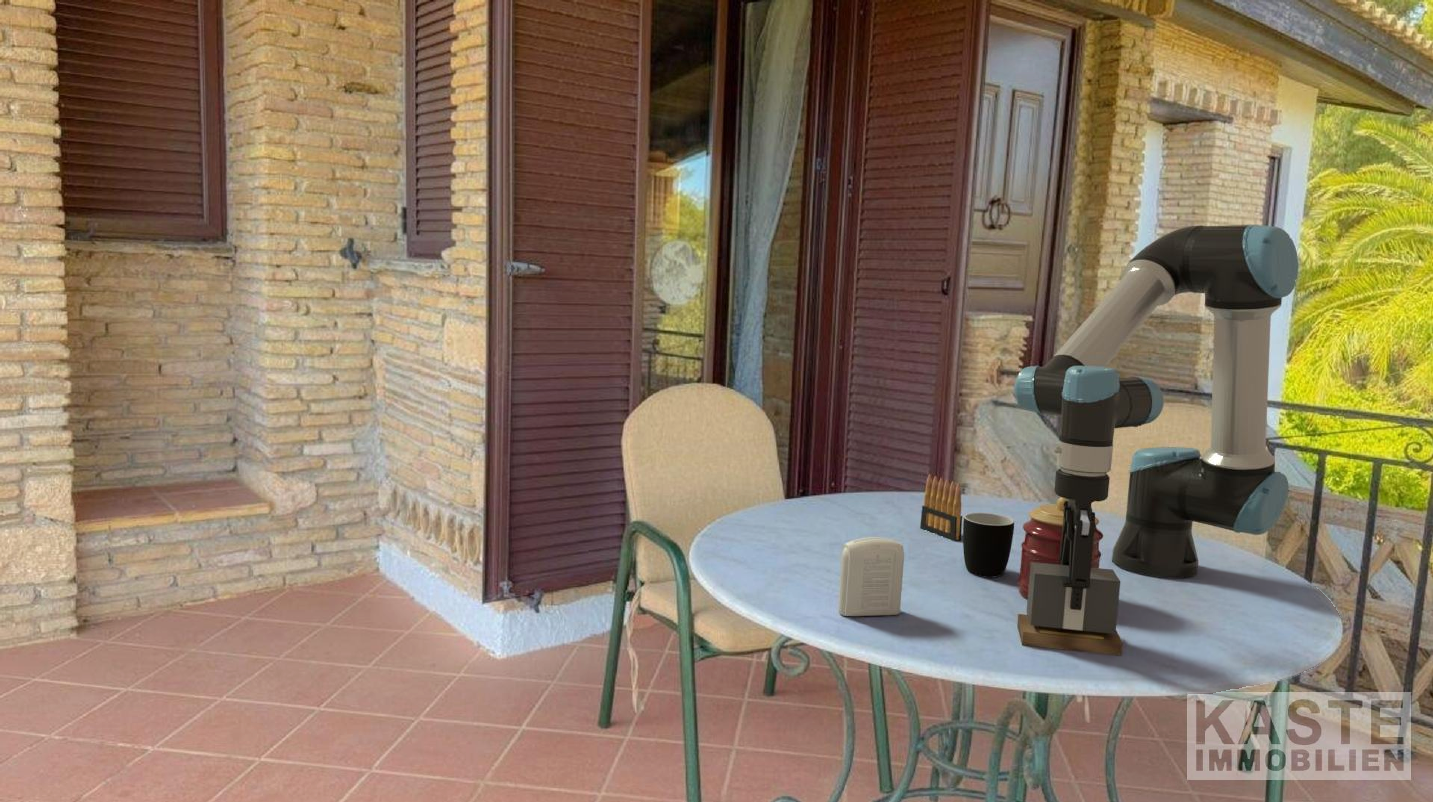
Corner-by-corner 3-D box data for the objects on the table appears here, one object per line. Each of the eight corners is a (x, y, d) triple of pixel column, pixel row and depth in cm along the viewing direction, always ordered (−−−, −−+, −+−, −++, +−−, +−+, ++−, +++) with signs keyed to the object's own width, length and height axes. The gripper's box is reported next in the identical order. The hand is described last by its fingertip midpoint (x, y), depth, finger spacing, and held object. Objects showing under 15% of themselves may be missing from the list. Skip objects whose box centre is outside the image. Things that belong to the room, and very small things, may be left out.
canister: (1008, 583, 178) (1016, 486, 176) (1082, 586, 178) (1091, 489, 175) (1029, 608, 165) (1037, 504, 163) (1108, 612, 165) (1118, 507, 162)
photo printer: (893, 607, 163) (898, 533, 162) (904, 616, 159) (909, 541, 157) (833, 609, 161) (838, 535, 159) (843, 619, 157) (847, 542, 155)
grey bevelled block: (1108, 620, 153) (1112, 569, 151) (1115, 634, 147) (1120, 581, 146) (1026, 612, 155) (1030, 562, 154) (1030, 625, 149) (1034, 573, 148)
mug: (1019, 578, 181) (1024, 524, 179) (975, 581, 179) (979, 525, 177) (985, 559, 192) (989, 507, 191) (943, 561, 190) (947, 509, 189)
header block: (1111, 636, 154) (1115, 595, 153) (1121, 655, 146) (1125, 613, 145) (1017, 626, 156) (1020, 586, 156) (1022, 644, 149) (1025, 602, 148)
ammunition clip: (961, 540, 205) (965, 483, 203) (954, 541, 204) (958, 484, 202) (926, 527, 214) (930, 472, 213) (919, 528, 213) (923, 473, 212)
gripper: (1048, 457, 158) (1036, 598, 161) (1065, 482, 139) (1051, 640, 142) (1098, 461, 156) (1085, 603, 159) (1122, 486, 138) (1106, 646, 141)
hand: (1069, 620), depth 151 cm, fingers closed on grey bevelled block, 6 cm apart
